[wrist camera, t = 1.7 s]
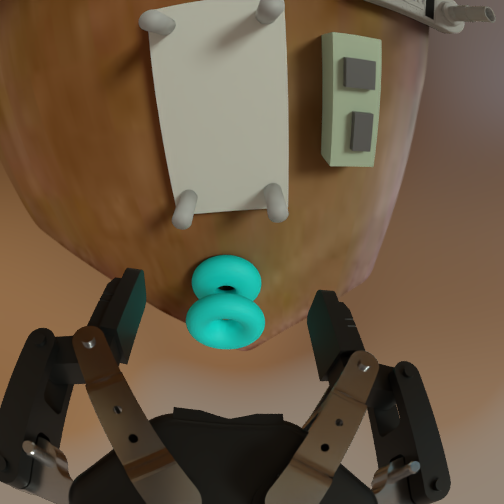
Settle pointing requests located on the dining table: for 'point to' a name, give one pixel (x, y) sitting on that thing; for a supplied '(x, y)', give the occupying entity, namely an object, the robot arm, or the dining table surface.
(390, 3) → the electronic device
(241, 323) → the donuts
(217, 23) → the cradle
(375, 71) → the pale green block
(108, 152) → the dining table surface
